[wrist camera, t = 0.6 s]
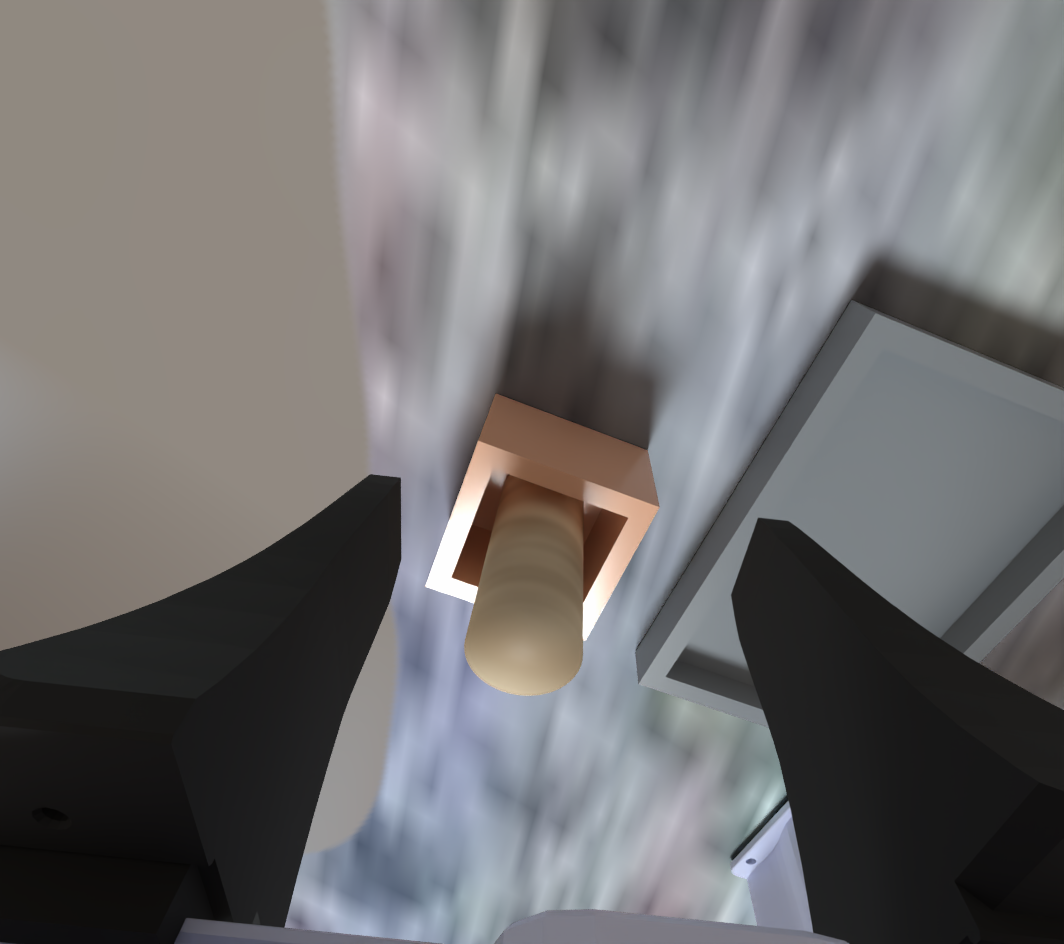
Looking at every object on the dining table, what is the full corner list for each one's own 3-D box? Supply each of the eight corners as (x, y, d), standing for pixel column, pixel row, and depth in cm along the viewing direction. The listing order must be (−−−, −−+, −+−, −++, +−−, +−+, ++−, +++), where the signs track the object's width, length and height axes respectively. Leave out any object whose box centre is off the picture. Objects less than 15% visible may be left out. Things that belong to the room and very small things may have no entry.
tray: (861, 729, 28) (878, 764, 26) (635, 652, 27) (638, 684, 25) (1147, 422, 20) (1195, 445, 19) (851, 299, 19) (875, 313, 18)
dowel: (565, 541, 23) (557, 709, 16) (491, 514, 23) (450, 674, 16) (596, 476, 22) (601, 629, 15) (518, 447, 22) (485, 589, 15)
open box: (585, 571, 25) (585, 640, 21) (448, 522, 24) (425, 586, 21) (647, 450, 22) (659, 507, 19) (495, 393, 22) (477, 440, 18)
